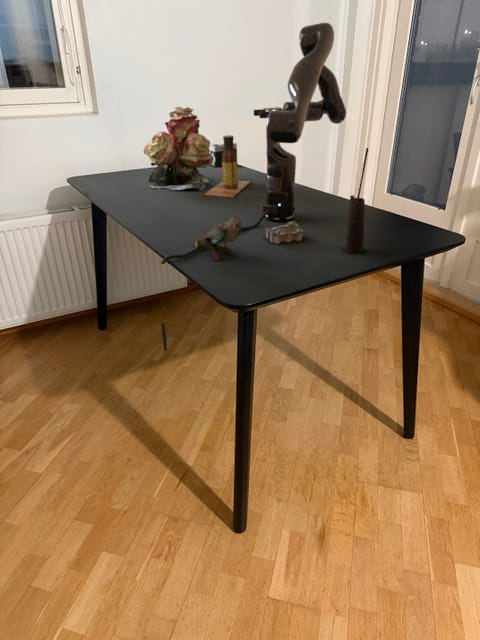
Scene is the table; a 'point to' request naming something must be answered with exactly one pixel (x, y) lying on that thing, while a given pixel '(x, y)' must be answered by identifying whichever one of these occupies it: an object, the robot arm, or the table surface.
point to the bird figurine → (221, 237)
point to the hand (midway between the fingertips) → (256, 113)
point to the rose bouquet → (179, 153)
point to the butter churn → (356, 221)
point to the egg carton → (284, 233)
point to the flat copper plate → (226, 190)
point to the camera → (218, 153)
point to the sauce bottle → (229, 163)
